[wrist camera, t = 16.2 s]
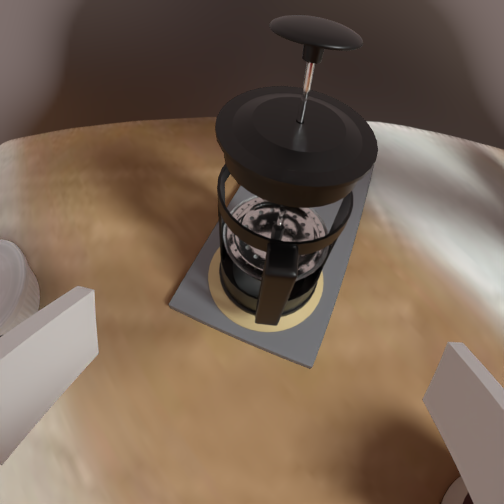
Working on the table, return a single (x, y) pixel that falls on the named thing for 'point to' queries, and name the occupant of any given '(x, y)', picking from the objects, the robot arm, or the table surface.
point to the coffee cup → (457, 493)
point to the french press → (288, 176)
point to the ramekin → (16, 287)
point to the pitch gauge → (241, 323)
